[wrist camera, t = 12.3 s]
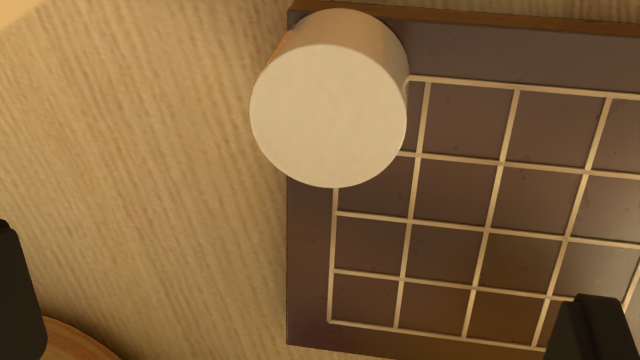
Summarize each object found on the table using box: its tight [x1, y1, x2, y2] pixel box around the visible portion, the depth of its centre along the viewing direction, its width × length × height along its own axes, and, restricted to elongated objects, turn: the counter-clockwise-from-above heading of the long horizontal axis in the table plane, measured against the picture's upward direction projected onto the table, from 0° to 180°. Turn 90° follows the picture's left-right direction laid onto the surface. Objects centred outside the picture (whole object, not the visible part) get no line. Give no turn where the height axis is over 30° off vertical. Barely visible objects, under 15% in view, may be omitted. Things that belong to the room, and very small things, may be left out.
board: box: [286, 0, 640, 360], centre depth 24 cm, size 16×16×2 cm
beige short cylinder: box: [249, 8, 410, 188], centre depth 20 cm, size 5×5×4 cm
